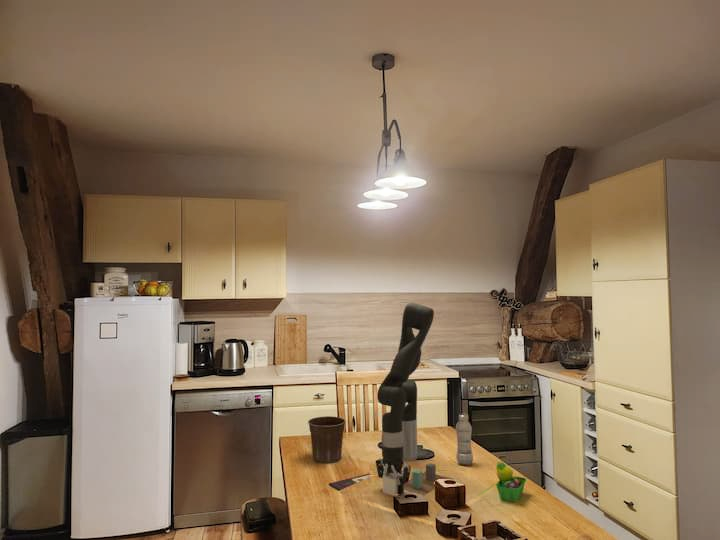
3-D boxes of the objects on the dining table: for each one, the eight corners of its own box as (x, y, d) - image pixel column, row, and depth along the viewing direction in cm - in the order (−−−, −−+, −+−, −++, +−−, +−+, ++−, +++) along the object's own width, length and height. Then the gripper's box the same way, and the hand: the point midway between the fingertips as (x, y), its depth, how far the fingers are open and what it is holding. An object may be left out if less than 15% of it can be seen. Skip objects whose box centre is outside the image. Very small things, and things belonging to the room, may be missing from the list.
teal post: (412, 487, 182) (412, 471, 183) (416, 485, 184) (416, 469, 185) (418, 488, 181) (418, 473, 181) (422, 486, 183) (422, 471, 183)
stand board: (424, 498, 175) (424, 495, 175) (395, 490, 182) (395, 487, 183) (453, 481, 190) (453, 478, 190) (426, 474, 198) (425, 471, 198)
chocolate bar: (328, 483, 189) (369, 473, 199) (328, 486, 189) (369, 475, 199) (341, 491, 182) (382, 480, 191) (341, 493, 182) (382, 482, 191)
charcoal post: (426, 479, 189) (425, 465, 190) (429, 477, 191) (429, 463, 192) (432, 481, 188) (431, 466, 188) (435, 479, 190) (435, 464, 190)
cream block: (382, 495, 178) (382, 476, 178) (391, 491, 182) (391, 472, 182) (395, 499, 175) (394, 479, 175) (403, 494, 179) (403, 475, 179)
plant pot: (351, 461, 214) (351, 423, 215) (314, 467, 208) (314, 427, 209) (338, 451, 230) (338, 414, 230) (304, 455, 224) (303, 418, 224)
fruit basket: (518, 504, 169) (517, 470, 169) (492, 499, 174) (491, 465, 174) (527, 493, 179) (526, 460, 179) (502, 488, 183) (501, 456, 184)
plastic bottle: (473, 467, 206) (472, 416, 206) (456, 466, 207) (455, 416, 208) (473, 462, 212) (471, 413, 213) (456, 461, 213) (455, 412, 214)
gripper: (369, 442, 181) (370, 491, 180) (403, 450, 171) (404, 501, 171) (382, 437, 186) (383, 484, 186) (415, 444, 177) (416, 494, 176)
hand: (393, 492), depth 178 cm, fingers closed on cream block, 5 cm apart
